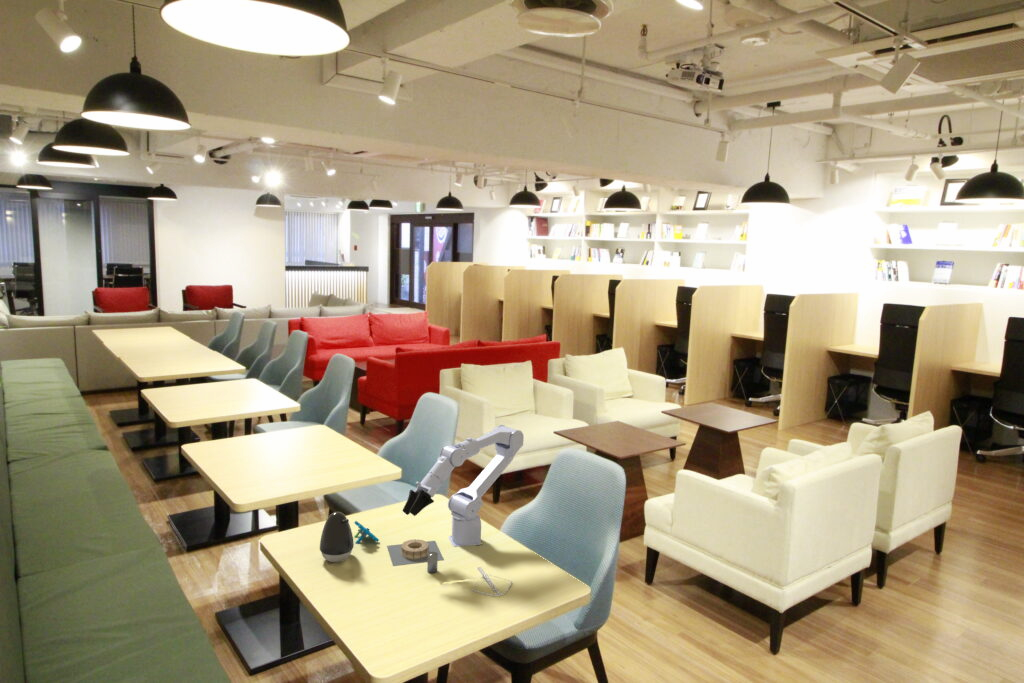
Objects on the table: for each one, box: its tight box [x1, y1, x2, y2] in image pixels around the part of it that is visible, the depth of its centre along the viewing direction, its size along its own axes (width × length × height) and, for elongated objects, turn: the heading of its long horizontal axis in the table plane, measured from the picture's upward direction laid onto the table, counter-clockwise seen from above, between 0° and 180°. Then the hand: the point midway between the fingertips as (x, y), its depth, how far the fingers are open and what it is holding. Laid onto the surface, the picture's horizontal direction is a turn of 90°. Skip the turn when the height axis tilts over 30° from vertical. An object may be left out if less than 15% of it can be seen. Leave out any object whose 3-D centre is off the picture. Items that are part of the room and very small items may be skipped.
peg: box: [426, 552, 438, 575], centre depth 197 cm, size 3×3×6 cm
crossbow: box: [471, 566, 513, 597], centre depth 193 cm, size 16×13×2 cm
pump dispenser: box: [319, 511, 354, 563], centre depth 202 cm, size 10×10×15 cm
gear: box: [353, 520, 379, 545], centre depth 215 cm, size 11×6×10 cm
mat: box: [386, 540, 445, 567], centre depth 208 cm, size 16×14×1 cm
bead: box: [401, 539, 429, 559], centre depth 208 cm, size 8×8×2 cm
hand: (408, 513), depth 201 cm, fingers open, 7 cm apart
